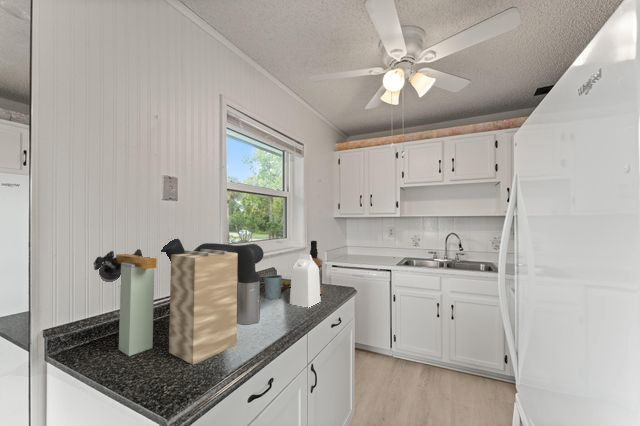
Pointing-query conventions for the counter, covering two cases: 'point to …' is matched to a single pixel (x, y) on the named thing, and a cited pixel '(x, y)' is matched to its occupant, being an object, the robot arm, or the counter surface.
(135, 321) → the grooved green pillar
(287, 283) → the gavel
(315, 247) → the whiskey bottle
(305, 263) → the milk
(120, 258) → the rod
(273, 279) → the teal cup
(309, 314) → the counter surface
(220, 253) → the stand
